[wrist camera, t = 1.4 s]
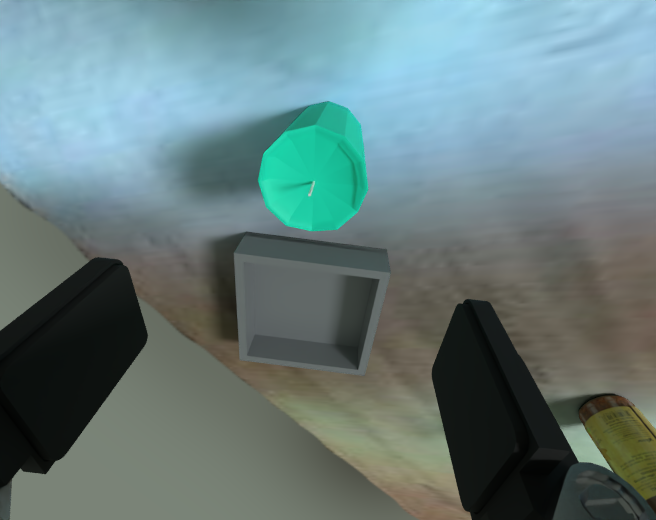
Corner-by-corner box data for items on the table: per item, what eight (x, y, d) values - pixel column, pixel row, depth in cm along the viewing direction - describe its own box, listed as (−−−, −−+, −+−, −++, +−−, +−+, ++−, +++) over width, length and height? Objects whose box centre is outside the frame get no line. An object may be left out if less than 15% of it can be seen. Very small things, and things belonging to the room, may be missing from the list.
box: (246, 231, 31) (233, 253, 28) (386, 249, 31) (390, 273, 28) (249, 333, 39) (239, 359, 35) (363, 347, 39) (364, 375, 35)
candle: (277, 152, 27) (230, 208, 17) (315, 84, 24) (286, 103, 14) (336, 191, 29) (326, 265, 18) (379, 131, 26) (395, 180, 16)
